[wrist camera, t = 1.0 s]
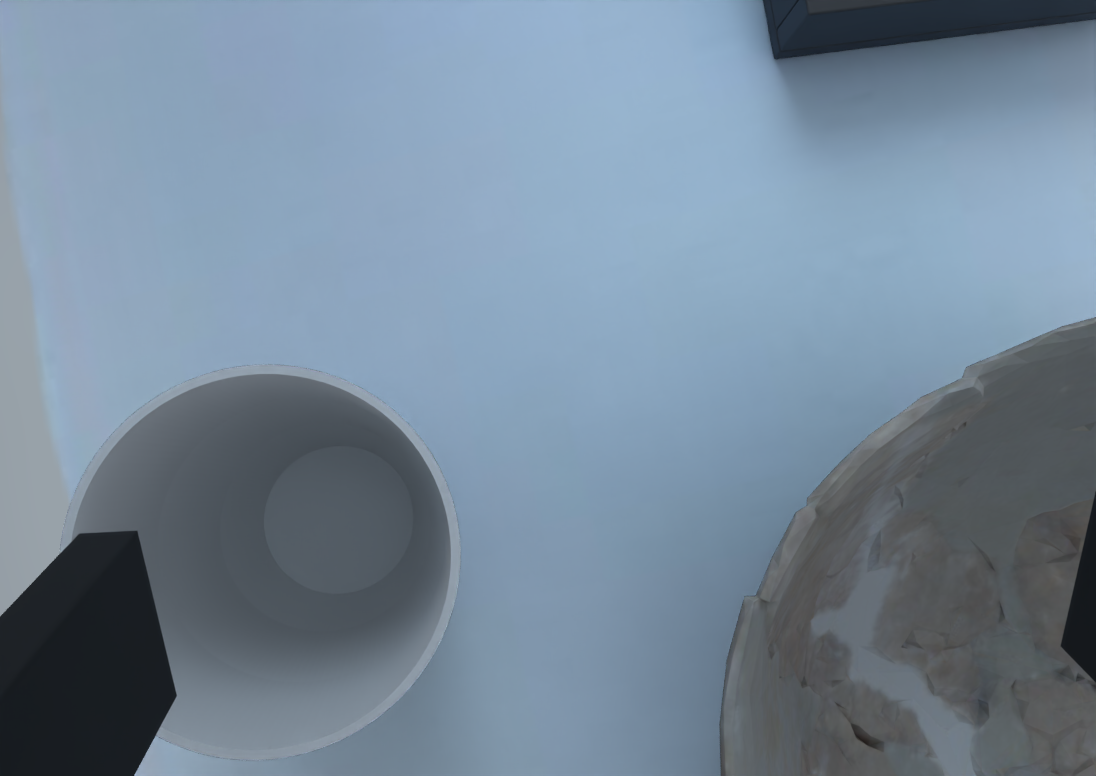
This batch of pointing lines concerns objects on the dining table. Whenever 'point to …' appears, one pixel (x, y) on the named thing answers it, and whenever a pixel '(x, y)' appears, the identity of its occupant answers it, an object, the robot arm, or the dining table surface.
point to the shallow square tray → (903, 21)
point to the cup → (279, 553)
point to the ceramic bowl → (932, 590)
